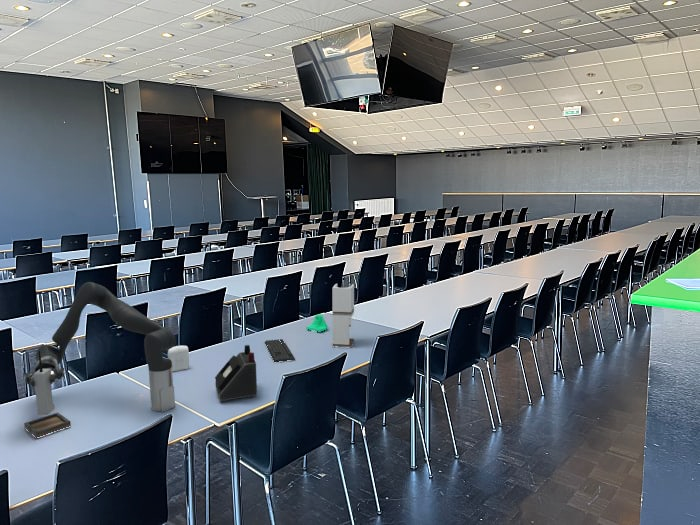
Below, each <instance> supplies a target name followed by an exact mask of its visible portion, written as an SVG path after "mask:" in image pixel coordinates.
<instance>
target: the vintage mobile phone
mask: <svg viewBox="0 0 700 525" xmlns="http://www.w3.org/2000/svg"><path fill="white" fill-rule="evenodd" d="M38 354H39V367H40V370H39V371H37V372H36V373H34V382H35V386H34V389H35V390H34V392H35V399H36V408H37V415H39V416H48V415H50V413H51V412H54V410H55V409H56V407H55V404H54V403H53V402H54V401H53V392H52V384H50V376H51V369H42V363H41V355H40V351H38Z"/></svg>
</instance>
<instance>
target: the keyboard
mask: <svg viewBox="0 0 700 525" xmlns="http://www.w3.org/2000/svg"><path fill="white" fill-rule="evenodd" d="M279 340H280V341H281V342H280V341H279ZM283 340H284V339H282V338H280V339H269V340H265V341H264V344H266V345H265V347H266V346H267V345H268V346H267V347H266V349H267V348H268V349H267V351H268V350H269V351H268V353H269V352H270V353H269V355H270V354H271V355H270V357H271V356H272V357H271V359H272V358H273V359H272V361H273V360H274V362H279V361H287V360H295V361H296V358H295V356H294V355H293V353H292V351H291V350H290V348H289V346H288V345H287V343H286V342H285V343H284V341H285V340H284V341H283ZM281 343H282V344H281ZM274 362H273V363H274Z"/></svg>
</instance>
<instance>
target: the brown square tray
mask: <svg viewBox="0 0 700 525" xmlns="http://www.w3.org/2000/svg"><path fill="white" fill-rule="evenodd" d="M69 426H71V427H72V423H71V420H69V419H68V418H66V417H65V416H64V415H62V413H59V412H54V413H52V414H48V415H44V416H43V417H39V418H37V419H33V420H29V421H28V422H24V429H25V428H26V429H27V430H28V431H29V432H30V433H31V434H33V435H34V436H35V437H36V438H37V437H40V436H43V435H46V434H48V433H51V432H54V431H57V430H60V429H63V428H66V427H69ZM29 432H28V433H29ZM30 433H29V434H30ZM31 434H30V435H31ZM36 438H35V439H36Z"/></svg>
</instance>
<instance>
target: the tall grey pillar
mask: <svg viewBox="0 0 700 525" xmlns="http://www.w3.org/2000/svg"><path fill="white" fill-rule="evenodd" d="M331 294H332V296H331V297H332V302H331V303H332V308H331V309H332V347H333V346H334V347H333V348H336V347H335V346H338V347H351V346H352V347H353V345H354V343H353V342H355V338H350V328H351V326H352V317H353V316H354V314H355V284H354V283H353V284H351V286H349V287H338V283H335V284H334V285H333V287H332V293H331ZM352 344H353V345H352ZM352 347H351V348H352Z"/></svg>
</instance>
